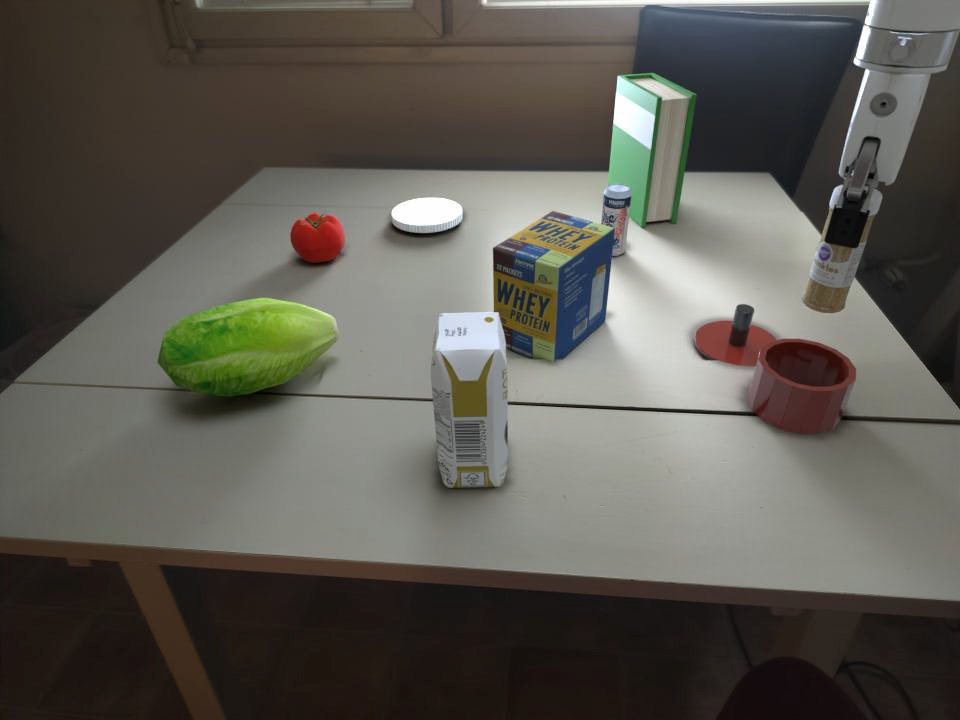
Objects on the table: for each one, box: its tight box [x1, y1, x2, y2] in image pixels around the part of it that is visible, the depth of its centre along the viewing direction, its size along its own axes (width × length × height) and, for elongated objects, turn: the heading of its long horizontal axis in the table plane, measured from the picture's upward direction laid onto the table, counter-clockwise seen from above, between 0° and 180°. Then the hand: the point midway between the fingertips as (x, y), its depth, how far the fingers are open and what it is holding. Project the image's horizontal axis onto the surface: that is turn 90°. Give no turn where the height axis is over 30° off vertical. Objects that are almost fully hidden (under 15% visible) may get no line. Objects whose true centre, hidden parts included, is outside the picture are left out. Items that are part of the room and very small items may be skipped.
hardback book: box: [607, 72, 698, 228], centre depth 129 cm, size 18×7×24 cm, turn 13°
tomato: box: [289, 211, 346, 264], centre depth 119 cm, size 9×9×8 cm
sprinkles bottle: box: [801, 184, 883, 314], centre depth 72 cm, size 5×5×14 cm
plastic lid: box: [390, 197, 463, 234], centre depth 132 cm, size 14×14×2 cm
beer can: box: [600, 184, 632, 257], centre depth 117 cm, size 5×5×12 cm
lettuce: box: [156, 297, 340, 398], centre depth 87 cm, size 13×23×12 cm, turn 110°
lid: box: [693, 303, 778, 367], centre depth 93 cm, size 12×12×7 cm
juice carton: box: [430, 311, 509, 489], centre depth 71 cm, size 8×9×19 cm
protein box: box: [492, 210, 615, 362], centre depth 95 cm, size 10×15×16 cm
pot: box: [746, 338, 857, 435], centre depth 81 cm, size 11×11×8 cm
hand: (845, 233), depth 70 cm, fingers closed on sprinkles bottle, 4 cm apart
